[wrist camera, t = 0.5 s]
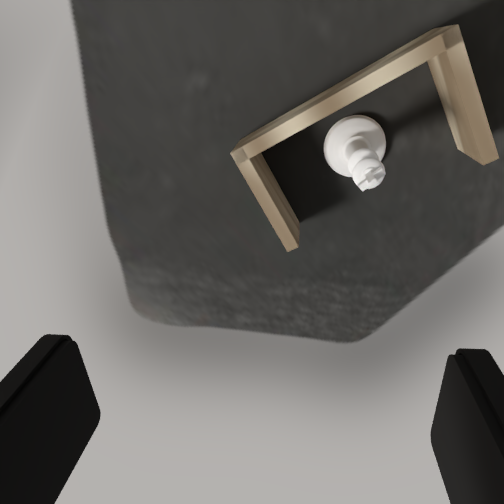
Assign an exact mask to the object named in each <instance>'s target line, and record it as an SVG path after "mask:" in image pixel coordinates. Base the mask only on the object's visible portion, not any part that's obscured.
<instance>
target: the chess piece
mask: <svg viewBox="0 0 504 504" xmlns="http://www.w3.org/2000/svg"><path fill="white" fill-rule="evenodd" d="M385 149H386V139H385V134H384V132H383V129H382V128H381V126H380V125H379V124H378V123H377V122H376V121H375V120H373V119H372V118H370V117H367V116H363V115H352V116H348V117H345V118H343V119H341V120H339V121H338V122H337V123H335V124H334V125H333V126H332V128H331V129H330V130H329V132H328V133H327V136H326V138H325V142H324V155H325V158H326V161H327V163H328V164H329V166H330V167H331V168H332V169H333V170H334V171H335V172H337V173H339V174H341V175H343V176H347V177H353V180H354V182H355V184H356V185H357V186H358V187H359V188H360V189H361V190H362V191H364V190H365V189H371V188H374V187H376V186H378V185H379V184H380V183H381V182H382V180H383V178H384V176H385V174H386V173H385V168H384V165H383V164H382V163H381V160H382V158H383V156H384V153H385Z"/></svg>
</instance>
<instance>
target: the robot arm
mask: <svg viewBox="0 0 504 504" xmlns="http://www.w3.org/2000/svg"><path fill="white" fill-rule="evenodd" d="M99 420H100V409H99V406H98V403H97V400H96V397H95V394H94V391H93V388H92V385H91V382H90V380H89V377H88V374H87V371H86V368H85V365H84V363H83V359H82V356H81V354H80V351H79V348H78V345H77V343H76V342H75V341H73V340H72V339H71V337H70V336H68V335H51V334H47V335H44V336H43V337H41V338H40V339H39V341H37V343H36V344H35V345H34V346H33V347H32V348H31V349H30V350H29V351H28V352H27V353H26V355H25V356H24V357H23V358H22V359H21V360H20V361H19V362H18V363H17V365H15V366H14V368H13V369H12V370H11V371H10V372H9V373H8V374H7V375H6V376H5V377H4V379H3V380H2V381H1V382H0V504H54V503H55V501H56V500H57V498H58V496H59V494H60V493H61V491H62V489H63V487H64V485H65V483H66V482H67V480H68V478H69V476H70V474H71V473H72V471H73V469H74V467H75V465H76V463H77V462H78V460H79V458H80V456H81V455H82V453H83V451H84V449H85V447H86V445H87V444H88V442H89V440H90V438H91V436H92V435H93V433H94V431H95V429H96V427H97V425H98V423H99ZM431 443H432V447H433V451H434V454H435V457H436V460H437V463H438V466H439V469H440V472H441V475H442V478H443V481H444V485H445V488H446V491H447V494H448V497H449V500H450V503H451V504H504V375H503V374H502V372H501V370H500V369H499V367H498V365H497V364H496V362H495V361H494V359H493V357H492V356H491V354H490V353H489V352H488V351H487V350H485V349H458V350H457V351H456V354H455V355H449V356H448V359H447V363H446V368H445V372H444V376H443V380H442V385H441V390H440V394H439V398H438V402H437V406H436V411H435V415H434V420H433V424H432V428H431Z"/></svg>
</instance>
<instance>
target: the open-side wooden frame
mask: <svg viewBox="0 0 504 504" xmlns="http://www.w3.org/2000/svg"><path fill="white" fill-rule="evenodd" d="M426 61H427V62H428V65H429V68H430V70H431V73H432V76H433V79H434V82H435V85H436V88H437V91H438V94H439V96H440V99H441V102H442V105H443V108H444V111H445V114H446V117H447V120H448V123H449V125H450V128H451V131H452V134H453V137H454V140H455V143H456V146H457V149H459V150H460V151H462V152H463V153H465V154H467V155H468V156H470V157H471V158H473V159H474V160H476V161H478V162H479V163H481V164H482V165H485V164H487V163H490V162H492V161H494V160H497V159H499V156H498V153H497V150H496V146H495V143H494V140H493V136H492V133H491V130H490V127H489V123H488V120H487V117H486V114H485V110H484V107H483V104H482V100H481V97H480V94H479V91H478V87H477V84H476V81H475V78H474V74H473V71H472V68H471V64H470V61H469V58H468V55H467V51H466V48H465V45H464V42H463V38H462V35H461V32H460V28H459V25H458V24H456V25H451V26H445V27H440V28H434V29H432V30H430V31H428V32H426V33H425V34H423V35H421V36H419V37H418V38H416V39H414V40H412V41H411V42H409V43H407V44H406V45H404V46H402V47H400V48H399V49H397V50H395V51H393V52H392V53H390V54H388V55H386V56H385V57H383V58H381V59H379V60H378V61H376V62H374V63H372V64H371V65H369V66H367V67H366V68H364V69H362V70H360V71H359V72H357V73H355V74H353V75H352V76H350V77H348V78H346V79H345V80H343V81H341V82H339V83H338V84H336V85H334V86H332V87H331V88H329V89H327V90H326V91H324V92H322V93H320V94H319V95H317V96H315V97H313V98H312V99H310V100H308V101H306V102H305V103H303V104H301V105H299V106H298V107H296V108H294V109H292V110H291V111H289V112H287V113H286V114H284V115H282V116H280V117H279V118H277V119H275V120H273V121H272V122H270V123H268V124H266V125H265V126H263V127H261V128H259V129H258V130H256V131H254V132H252V133H251V134H249V135H247V136H246V137H244V138H242V139H240V141H239V142H238V143H237V145H236V146H235V148H234V149H233V150H232V152H231V153H230V154H231V155H232V157H233V159H234V161H235V162H236V164H237V166H238V167H239V169H240V171H241V173H242V174H243V176H244V178H245V180H246V181H247V183H248V185H249V186H250V188H251V190H252V192H253V193H254V195H255V197H256V198H257V200H258V202H259V204H260V205H261V207H262V209H263V210H264V212H265V214H266V216H267V217H268V219H269V221H270V222H271V224H272V226H273V228H274V229H275V231H276V233H277V235H278V236H279V238H280V240H281V241H282V243H283V245H284V247H285V248H286V250H287V252H288V251H291V250H293V249H295V248H297V247H299V221H298V219H297V217H296V215H295V213H294V212H293V210H292V208H291V206H290V204H289V203H288V201H287V199H286V197H285V195H284V193H283V192H282V190H281V188H280V186H279V184H278V183H277V181H276V179H275V177H274V175H273V173H272V172H271V170H270V168H269V166H268V164H267V163H266V161H265V159H264V157H263V155H262V153H261V152H262V151H264V150H266V149H268V148H270V147H272V146H273V145H275V144H277V143H279V142H281V141H282V140H284V139H286V138H288V137H290V136H292V135H293V134H295V133H297V132H299V131H301V130H302V129H304V128H306V127H308V126H310V125H312V124H313V123H315V122H317V121H319V120H321V119H322V118H324V117H326V116H328V115H330V114H331V113H333V112H335V111H337V110H339V109H341V108H342V107H344V106H346V105H348V104H350V103H351V102H353V101H355V100H357V99H359V98H361V97H362V96H364V95H366V94H368V93H370V92H371V91H373V90H375V89H377V88H379V87H380V86H382V85H384V84H386V83H388V82H390V81H391V80H393V79H395V78H397V77H399V76H400V75H402V74H404V73H406V72H408V71H410V70H411V69H413V68H415V67H417V66H419V65H420V64H422V63H424V62H426Z"/></svg>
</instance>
